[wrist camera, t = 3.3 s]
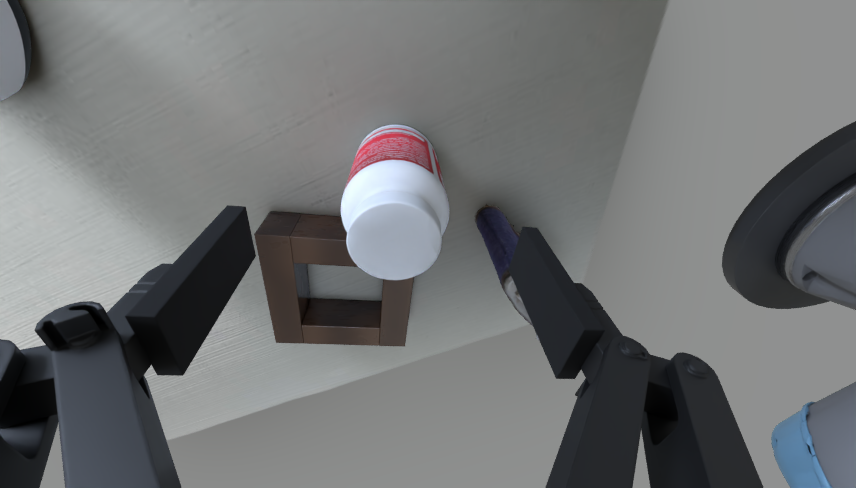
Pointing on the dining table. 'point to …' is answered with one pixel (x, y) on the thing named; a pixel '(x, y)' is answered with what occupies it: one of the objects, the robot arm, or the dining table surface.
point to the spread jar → (13, 48)
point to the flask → (501, 250)
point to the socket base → (323, 318)
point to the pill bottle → (395, 204)
